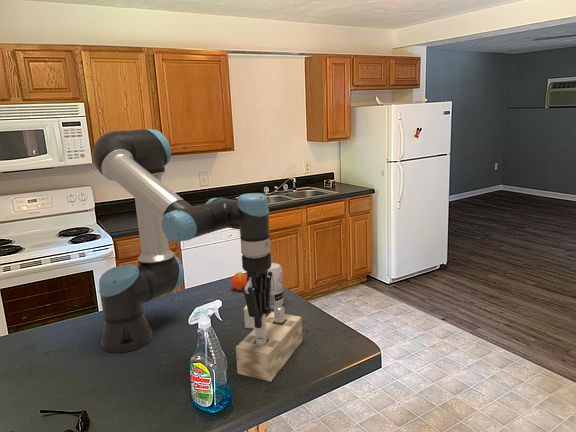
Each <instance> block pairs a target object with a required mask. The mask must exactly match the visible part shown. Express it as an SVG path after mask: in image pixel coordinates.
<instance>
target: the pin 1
mask: <svg viewBox="0 0 576 432" xmlns="http://www.w3.org/2000/svg"><path fill="white" fill-rule="evenodd" d="M255 341H256V344H258V345H263V346H264V345H265V344H266V343H267V339H266V338H265V339H263V338H258V337H255Z"/></svg>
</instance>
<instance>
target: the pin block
mask: <svg viewBox="0 0 576 432" xmlns="http://www.w3.org/2000/svg"><path fill="white" fill-rule="evenodd" d="M284 314H285V323H284V325H278V324H275V317H274V311H270V314H269V315H268V316H267V317H266V330H267V337H266V339H267V343H266V344H265V345H264V346H263V345H258V344H256V341H255V329H252V330H251V332H250V333H249V334H247V335H246V337H244V339H242V340H241V341H240V342H239V343H238V344H237V345H236V346H235V355H236V356H235V357H236V368H237V369H236V370H237V374H238V375H241V376H246V377H251V378H255V379H259V380H262V381H267V382H272V380H273V379H274V378H275V377H276V375H277V374H278V373H279V372H280V370H281V369H282V368H283V367H284V365H285V364H286V363H287V361H288V360H289V359H290V357H292V355H294V353H295V352H296V350H297V348H299V346H300V345H301V344H302V342H303V317H302V316H298V315H292V314H287V313H284Z"/></svg>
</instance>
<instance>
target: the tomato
mask: <svg viewBox="0 0 576 432" xmlns="http://www.w3.org/2000/svg"><path fill="white" fill-rule="evenodd" d="M247 283H248V282H247V273H244V272H236V273H235V274H234V275H233V276H232V278H231V284H232V287H233V288H234V289H236V290H237V291H242V287H243V286H245V287H246V285H247Z"/></svg>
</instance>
